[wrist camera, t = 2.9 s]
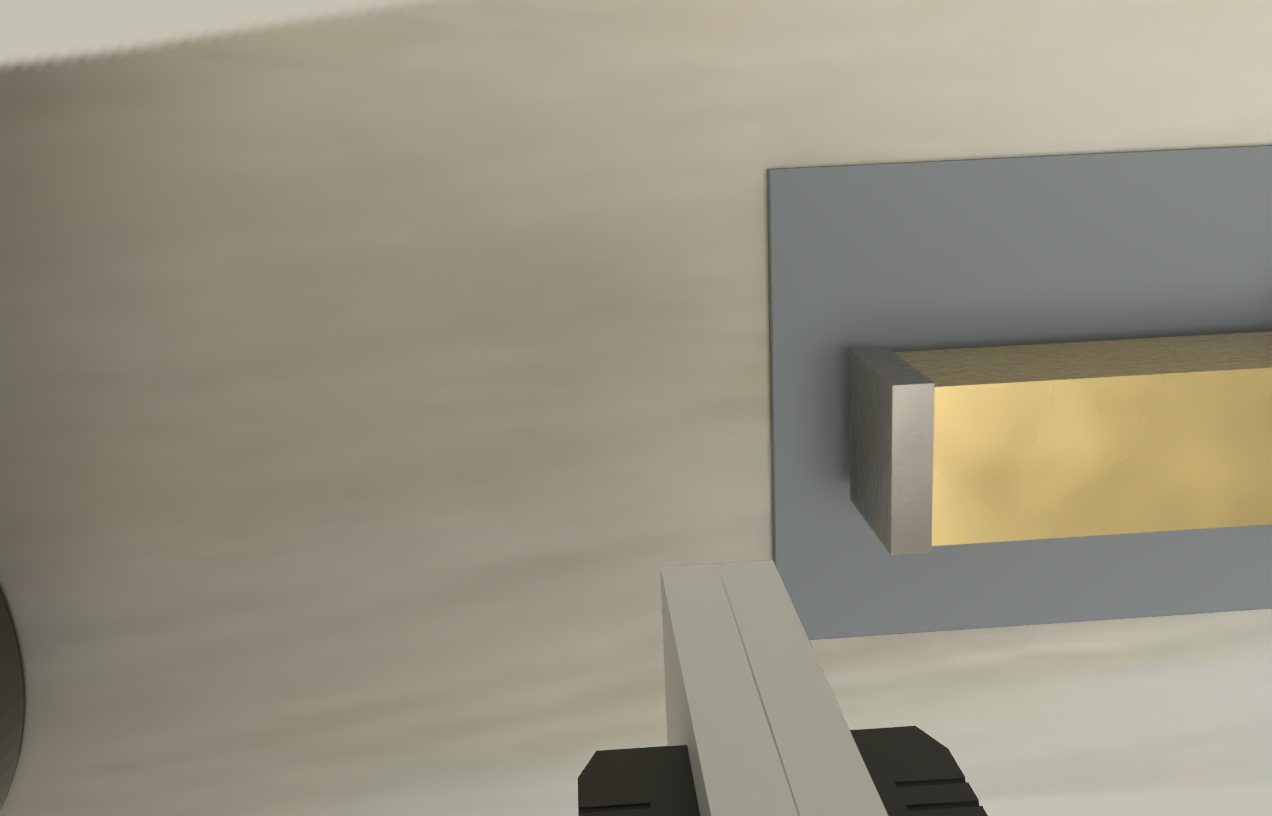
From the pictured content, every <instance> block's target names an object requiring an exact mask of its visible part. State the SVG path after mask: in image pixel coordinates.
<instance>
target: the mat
mask: <svg viewBox="0 0 1272 816" xmlns="http://www.w3.org/2000/svg"><path fill="white" fill-rule="evenodd" d="M768 210H769V276H770V341H771V406H772V472H773V537H774V564H775V566H776V568H777V570H778V573H779V575H780V577H781V579H782V581H783V584H784V586H785V588H786V590H787V593H788V595H789V597H790V599H791V601H792V604H793V606H794V608H795V610H796V612H797V615H798V617H799V619H800V621H801V624H802V626H803V628H804V630H805V632H806V635H807V637H808V639H809V640H815V639H830V638H845V637H859V636H874V635H889V634H904V633H918V632H933V631H948V630H963V629H978V628H992V627H1007V626H1022V625H1037V624H1051V623H1066V622H1081V621H1096V620H1110V619H1125V618H1140V617H1155V616H1169V615H1184V614H1199V613H1214V612H1228V611H1243V610H1258V609H1272V524H1268V525H1253V526H1237V527H1222V528H1206V529H1190V530H1175V531H1159V532H1144V533H1128V534H1112V535H1097V536H1081V537H1066V538H1050V539H1034V540H1019V541H1003V542H988V543H972V544H956V545H941V546H932V549H931V553H921V554H906V555H890V554H889V552H888V551H887V549H886V548H885V547H884V545H883V544H882V543H881V541H880V540H879V538H878V537H877V536H876V534H875V533H874V532H873V530H872V529H871V528H870V526H869V525H868V523H867V522H866V521H865V519H864V518H863V517H862V515H861V514H860V513H859V511H858V510H857V508H856V507H855V506H854V504H853V503H852V502H851V500H850V349H863V348H881V347H887V348H889V349H890V350H891V351H893V352H910V351H928V350H945V349H963V348H981V347H999V346H1017V345H1035V344H1053V343H1071V342H1089V341H1107V340H1125V339H1143V338H1161V337H1179V336H1197V335H1215V334H1233V333H1251V332H1269V331H1272V145H1264V146H1243V147H1222V148H1201V149H1180V150H1159V151H1137V152H1116V153H1095V154H1074V155H1053V156H1032V157H1011V158H990V159H969V160H948V161H927V162H906V163H885V164H864V165H843V166H822V167H801V168H780V169H768Z"/></svg>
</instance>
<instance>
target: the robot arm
mask: <svg viewBox="0 0 1272 816" xmlns="http://www.w3.org/2000/svg"><path fill="white" fill-rule="evenodd" d="M661 590H662V614H663V639H664V664H665V688H666V713H667V738H668V746H662V747H648V748H633V749H618V750H603V751H596V752H595V754H594V755H593V757H592V758H591V760H590V761H589V763H588V764H587V766H586V767H585V768H584V770H583V771H582V773H581V774H580V776H579V777H578V807H579V816H987V814H986V812H985V810H984V809H983V807H982V806H979V801H978V798H977V797H976V795H975V793H974V792H973V790H972V788H971V787H970V785H969V783H966V782H965V776H964V775H963V773H962V771H961V770H960V768H959V766H958V765H957V763H956V761H955V760H954V758H953V756H952V754H951V753H950V751H949V749H948V748H946V747H945V746H943V745H942V744H940V743H939V742H938V741H936V740H935V739H933V738H932V737H930V736H929V735H928V734H926V733H925V732H923V731H922V730H920V729H919V728H918V727H916V726H908V727H893V728H878V729H863V730H849V728H848V725H847V723H846V721H845V719H844V717H843V714H842V712H841V710H840V708H839V705H838V703H837V701H836V699H835V697H834V694H833V692H832V690H831V688H830V686H829V683H828V681H827V679H826V677H825V674H824V672H823V670H822V668H821V666H820V663H819V661H818V659H817V657H816V655H815V652H814V650H813V648H812V646H811V643H810V641H809V639H808V637H807V635H806V632H805V630H804V628H803V626H802V624H801V621H800V619H799V617H798V615H797V612H796V610H795V608H794V606H793V604H792V601H791V599H790V597H789V595H788V593H787V590H786V588H785V586H784V584H783V581H782V579H781V577H780V575H779V573H778V570H777V568H776V566H775V564H774V562H773V560H765V561H748V562H732V563H716V564H699V565H683V566H667V567H661ZM23 717H24V692H23V680H22V670H21V664H20V658H19V652H18V647H17V643H16V639H15V635H14V631H13V627H12V624H11V621H10V618H9V615H8V612H7V609H6V606H5V603H4V601H3V598H2V596H1V594H0V809H1V807H2V805H3V802H4V800H5V798H6V795H7V793H8V790H9V787H10V784H11V782H12V779H13V775H14V772H15V768H16V764H17V760H18V756H19V750H20V744H21V738H22V728H23Z"/></svg>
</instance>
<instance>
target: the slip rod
mask: <svg viewBox="0 0 1272 816" xmlns="http://www.w3.org/2000/svg"><path fill="white" fill-rule="evenodd" d="M850 500H851V502H852V503H853V504H854V506H855V507H856V508H857V510H858V511H859V513H860V514H861V515H862V517H863V518H864V519H865V521H866V522H867V523H868V525H869V526H870V528H871V529H872V530H873V532H874V533H875V534H876V536H877V537H878V538H879V540H880V541H881V543H882V544H883V545H884V547H885V548H886V549H887V551H888V552H889V554H890V555H906V554H921V553H931V549H932V546H941V545H956V544H972V543H988V542H1003V541H1019V540H1034V539H1050V538H1066V537H1081V536H1097V535H1112V534H1128V533H1144V532H1159V531H1175V530H1190V529H1206V528H1222V527H1237V526H1253V525H1268V524H1272V331H1269V332H1251V333H1233V334H1215V335H1197V336H1179V337H1161V338H1143V339H1125V340H1107V341H1089V342H1071V343H1053V344H1035V345H1017V346H999V347H981V348H963V349H945V350H928V351H910V352H893V351H891V350H890V349H889V348H887V347H881V348H863V349H850Z"/></svg>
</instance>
